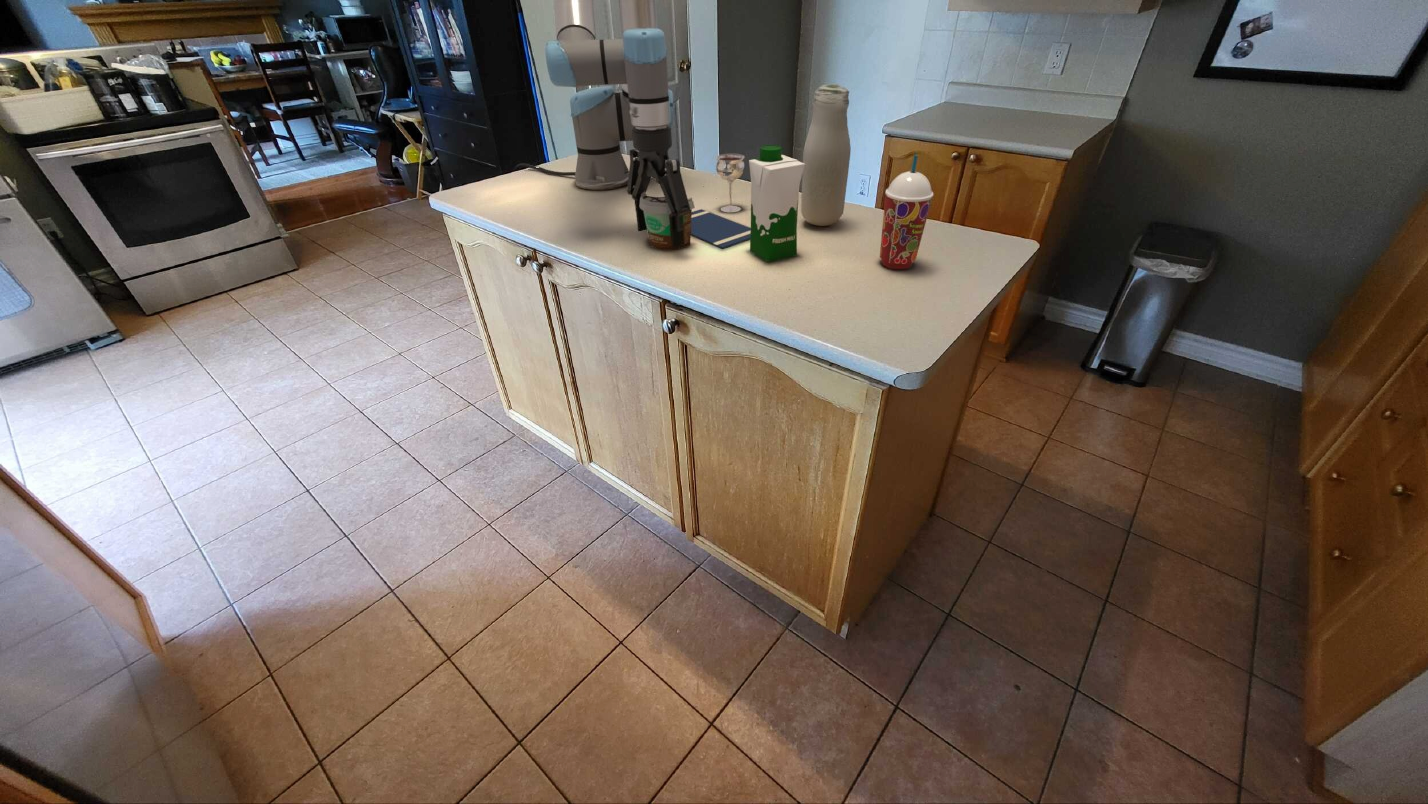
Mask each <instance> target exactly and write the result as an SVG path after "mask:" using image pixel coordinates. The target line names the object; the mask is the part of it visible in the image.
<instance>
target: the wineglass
mask: <svg viewBox="0 0 1428 804" xmlns="http://www.w3.org/2000/svg"><path fill="white" fill-rule="evenodd" d="M715 158H716V161H717V162H716V166H715V169H716V173H717V175H719V176H720V178H721V179H723V180H725V181H726V182H727V183H728V190H729V191H728V193H729V205H725V206H722V207H721V208H720V211H721V212H724V213H737V212H739V211H741V210H742V208H741V207H740V206H737V205H732V203H733V202H732V201H733V199H732V198H733V183H734V182H735V181H736V180H738V179H739V178H741V176H742V175H743V174H744V172H745V168H746V165H745V162H744V160H745V155H743V154H739V153H723V154H719V155H717V156H716V157H715Z"/></svg>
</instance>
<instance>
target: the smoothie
mask: <svg viewBox="0 0 1428 804" xmlns="http://www.w3.org/2000/svg"><path fill="white" fill-rule="evenodd" d="M918 159H919V158H918V155H917V154H914V155H913V160H912V165H911V170H909V171H905V172H902V173H900V174H898V175H897V176H896V177H895V178H894V179H893V180H892V181H891V183H890V184H889V186H888V187H887V188H886V189H885V194H884V207H883V215H882V228H881V239H880V248H879V249H880V250H879V258H880V259H881V264H882V265H883V266H885V267H886V268H888V269H893V270H905V269H908V268H911V267H912V265H913V263H915V261H916V260H917V257H918V252H919V250H920V245H921V242H922V237H923V235H924V230H925V228H926V224H927V220H928V216H929V212H930V209H931V205H932V201H933V197H934V191H932V186H931V183H930V181H929V179H928V178H927V176H925V175H924V174H923V173H922V172H919V171H916V169H917V162H918Z"/></svg>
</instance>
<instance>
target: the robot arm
mask: <svg viewBox="0 0 1428 804" xmlns="http://www.w3.org/2000/svg"><path fill="white" fill-rule="evenodd" d="M618 6H619V7H618V8H619V16H620V26H621V37H622V38H612V39H611V38H609V39H608V38H607V39H597V38H596V37H597V35H596V24H595V23H596V22H595V14H594V13H595V12H594V1H593V0H553V9H554V10H553V11H554V22H555V25H554V26H555V38H556V39H555V40H553V41H548V42H546V43H545V47H544V55H545V61H546V67H547V72H548V76H549V77H548V78H549V80H550V82H551V84H552V85H554V86H555V87H563V88H576V87H577V88H578V87H590V86H591V88H587V89H582V90H580V91H577V92H575V93H574V94H572V96H570V98H569V99H570V100H569V106H570V117H571V118H572V119H571V120H572V125H573V131H574V132H573V133H574V139H575V145H576V151H577V159H576V167H575V171H555V170H551V169H546V168H544V167H542V166H536V165H533V164H530V163H524V162H523V163H518V164H516V166H515V167H514V169H513V170H514V171H516V170H517V171H518V170H519V169H520V168H522V167H523V168H529V169H532V170H536V171H541V172H542V173H545V174H548V175H549V174H550V175H555V176H562V177H563V176H564V177H565V176H566V177H569V176H572V177H573V176H574V180H575V185H576V187H577V188H579V189H583V190H589V191H606V190H612V189H618V188H621V187H625V186H626V185H627V187H626V192H627V195H629V196H630V195H631V198H632V200H634V209H635V216H636V224H637V225H636V226H637V231H638V232H644V231H647V227H646V222H645V217H644V211H643V210H642V209H641V208H640V207H639V205H640V198H641V194H642V193H643V192H646V193H647V191H648V187H649V185H650V183H651V180H652V179H654V180H655V183H656V184H658V185H659V186H660V189H661V192H662V193H663V197H665V199H666V201H667V203H668V206H669V208H670V210H671V214H670V215H669V221H670V235H671V246H672V247H676V246H679V245H683V244H684V235H683V230H684V220H683V214H684V213H688V212H690V206H689V202H688V199H689V198H688V195H687V192H686V187H685V183H684V179H683V177H682V172H681V163H680V160H679V158H675V159H670V156H669V150H670V148H672V146H673V138H672V137H673V135H672V129H673V123H674V121H673V120H674V93H673V90H671V89H669V78H668V59H667V55H668V49H667V44H666V37H665V33H664V31H663V30H662V29H660V28H658V15H657V14H658V13H657V0H618ZM612 85H615V86H616V85H621V92H619V91H618V92H615V89H614V87H613V86H612ZM592 86H596V87H592ZM620 142H632V146H633V149H629V167H628V165H627V163H626V161H625V158H624V156H623V154H622V151H621V144H620ZM536 167H539V168H536ZM683 206H684V207H683ZM675 207H676V209H675Z"/></svg>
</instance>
